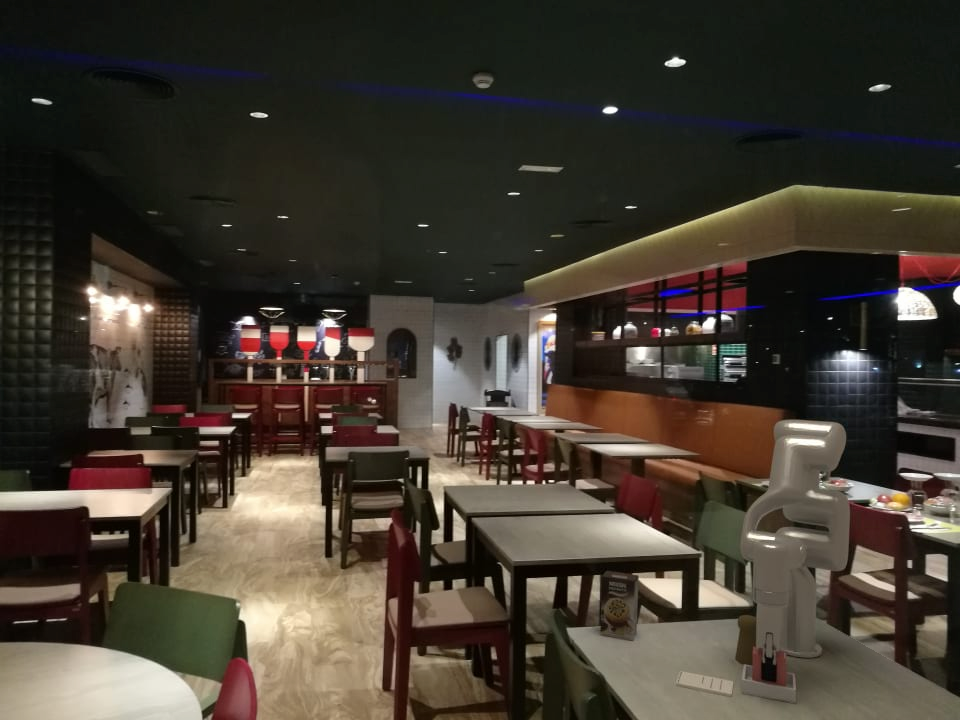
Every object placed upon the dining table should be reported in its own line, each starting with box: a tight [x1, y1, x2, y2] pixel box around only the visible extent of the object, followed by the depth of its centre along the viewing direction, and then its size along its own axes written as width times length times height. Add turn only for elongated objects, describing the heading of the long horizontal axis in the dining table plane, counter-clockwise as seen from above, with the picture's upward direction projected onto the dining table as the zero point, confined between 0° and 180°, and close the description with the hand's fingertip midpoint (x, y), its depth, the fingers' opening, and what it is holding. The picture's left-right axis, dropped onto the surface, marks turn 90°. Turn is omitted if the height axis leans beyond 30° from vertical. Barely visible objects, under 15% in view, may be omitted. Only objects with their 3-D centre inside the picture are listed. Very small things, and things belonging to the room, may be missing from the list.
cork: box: [734, 614, 757, 666], centre depth 171 cm, size 6×6×11 cm
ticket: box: [675, 670, 734, 698], centre depth 157 cm, size 7×12×1 cm, turn 66°
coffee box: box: [600, 570, 640, 642], centre depth 187 cm, size 9×6×16 cm
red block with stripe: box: [752, 647, 787, 687], centre depth 156 cm, size 4×7×6 cm, turn 66°
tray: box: [741, 664, 797, 705], centre depth 156 cm, size 9×11×3 cm
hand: (768, 675), depth 156 cm, fingers closed on red block with stripe, 4 cm apart
